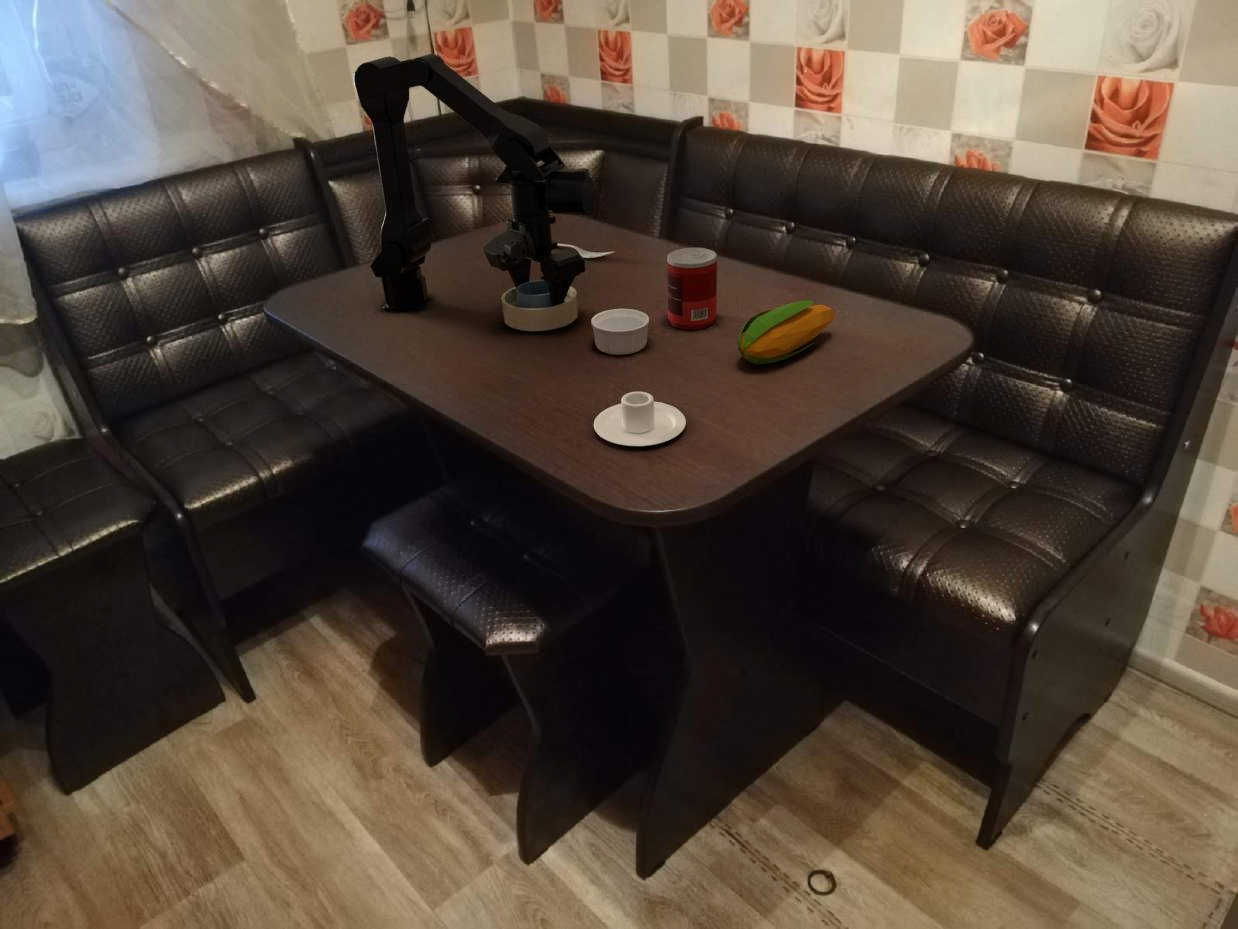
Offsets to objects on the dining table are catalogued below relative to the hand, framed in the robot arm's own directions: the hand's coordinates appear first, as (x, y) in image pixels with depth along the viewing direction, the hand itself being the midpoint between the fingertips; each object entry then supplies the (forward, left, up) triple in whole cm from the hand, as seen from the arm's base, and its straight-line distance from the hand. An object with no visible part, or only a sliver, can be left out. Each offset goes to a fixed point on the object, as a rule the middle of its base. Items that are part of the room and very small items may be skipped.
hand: (539, 305), depth 152 cm
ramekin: (+14, -11, -3) cm, 18 cm away
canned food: (+25, -2, -3) cm, 25 cm away
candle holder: (+18, -37, -3) cm, 41 cm away
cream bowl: (0, 0, -2) cm, 2 cm away
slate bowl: (0, 0, -2) cm, 2 cm away
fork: (0, +35, -3) cm, 35 cm away
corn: (+39, -14, -3) cm, 42 cm away
